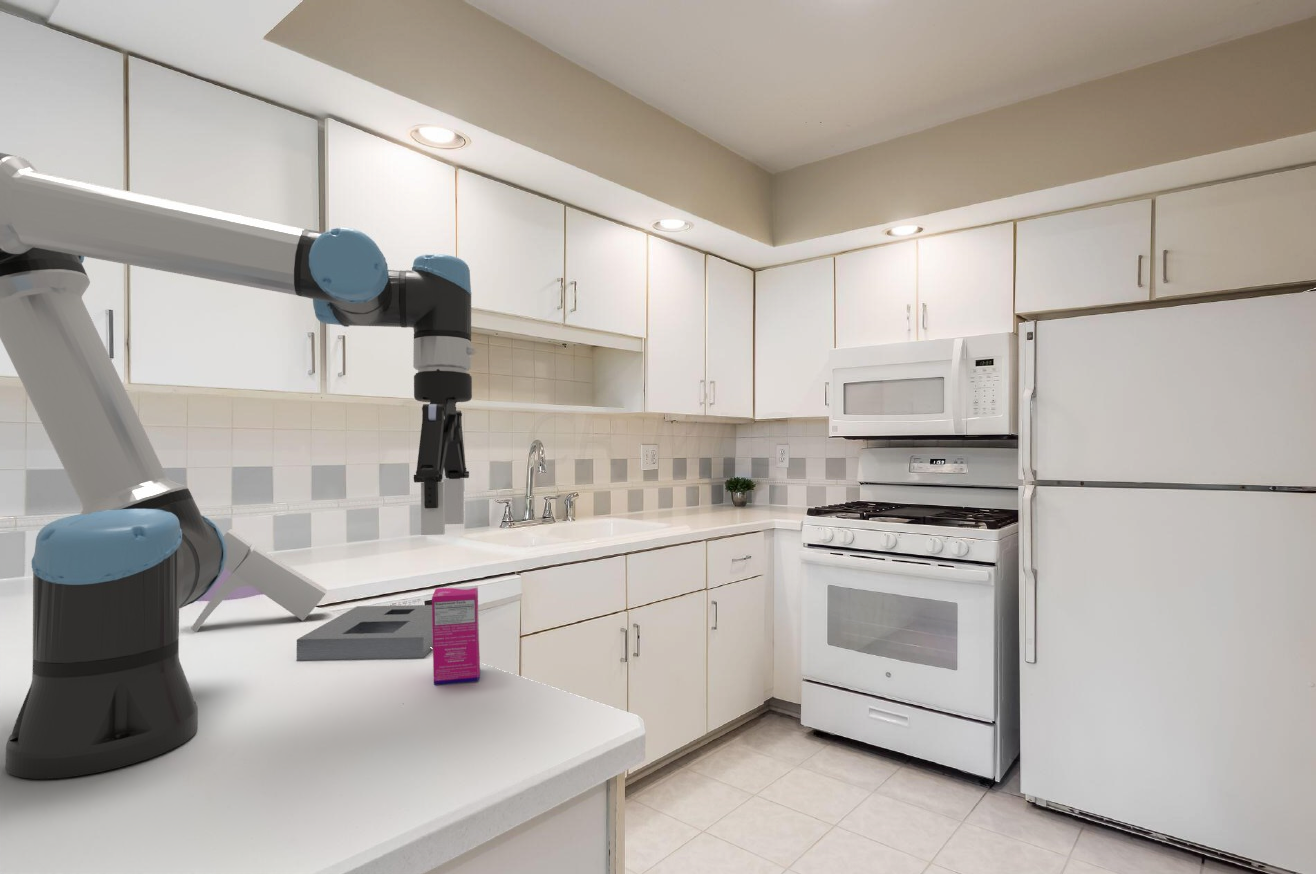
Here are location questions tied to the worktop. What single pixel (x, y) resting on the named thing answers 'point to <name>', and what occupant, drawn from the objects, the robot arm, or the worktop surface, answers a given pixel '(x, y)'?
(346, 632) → the socket plate
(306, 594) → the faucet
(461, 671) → the supplement box
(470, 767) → the worktop surface
